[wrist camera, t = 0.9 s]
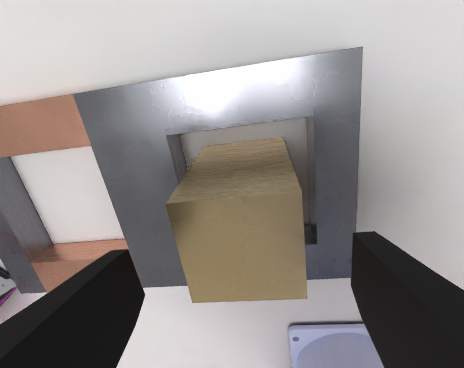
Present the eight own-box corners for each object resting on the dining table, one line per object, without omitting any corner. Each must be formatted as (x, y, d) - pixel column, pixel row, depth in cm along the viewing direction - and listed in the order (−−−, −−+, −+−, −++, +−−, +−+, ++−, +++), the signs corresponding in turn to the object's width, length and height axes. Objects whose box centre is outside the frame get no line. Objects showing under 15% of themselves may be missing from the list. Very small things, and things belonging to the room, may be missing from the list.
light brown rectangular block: (287, 207, 16) (307, 298, 10) (217, 213, 17) (192, 302, 10) (282, 137, 14) (302, 191, 8) (204, 146, 15) (165, 204, 9)
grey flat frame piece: (343, 255, 17) (354, 277, 15) (42, 273, 20) (21, 293, 18) (347, 49, 12) (362, 46, 11) (-44, 113, 16) (-84, 119, 14)
